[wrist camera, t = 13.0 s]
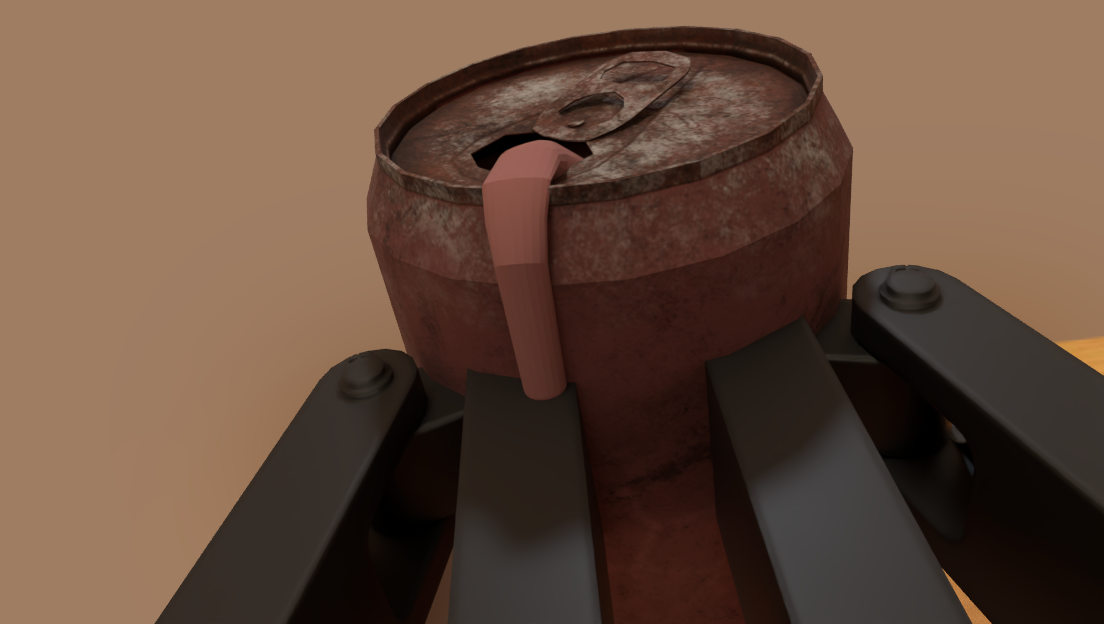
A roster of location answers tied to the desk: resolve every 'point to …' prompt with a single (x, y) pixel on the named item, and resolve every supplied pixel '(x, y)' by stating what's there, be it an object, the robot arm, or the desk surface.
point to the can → (619, 257)
